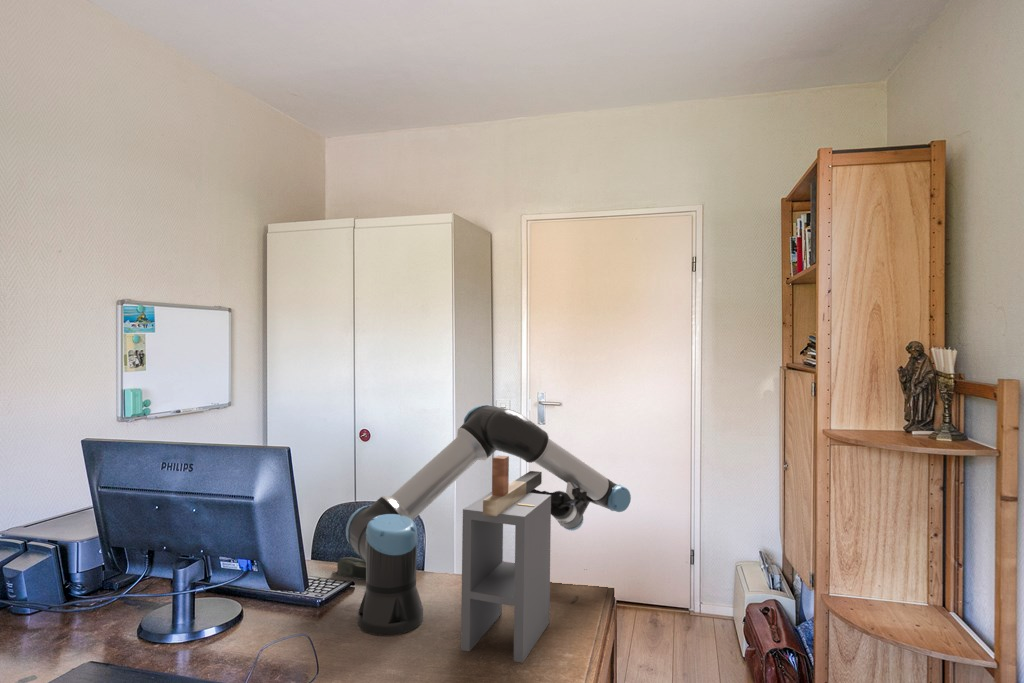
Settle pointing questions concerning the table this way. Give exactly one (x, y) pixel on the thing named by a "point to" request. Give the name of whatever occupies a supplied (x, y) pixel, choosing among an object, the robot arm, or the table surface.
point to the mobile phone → (351, 568)
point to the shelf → (506, 571)
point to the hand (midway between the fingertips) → (543, 484)
